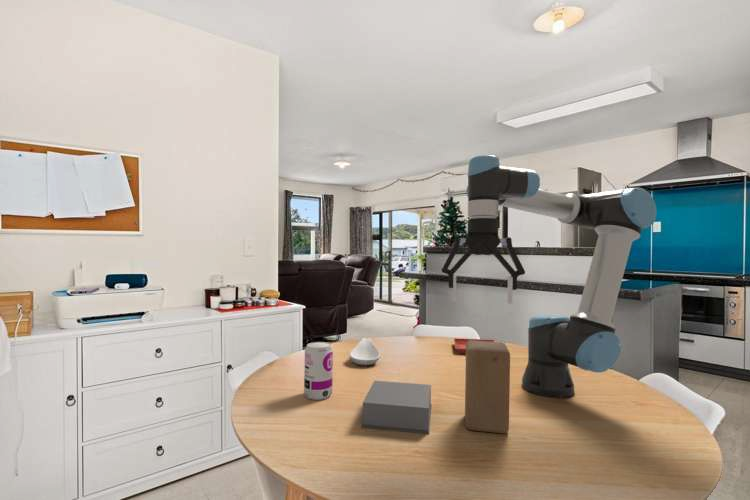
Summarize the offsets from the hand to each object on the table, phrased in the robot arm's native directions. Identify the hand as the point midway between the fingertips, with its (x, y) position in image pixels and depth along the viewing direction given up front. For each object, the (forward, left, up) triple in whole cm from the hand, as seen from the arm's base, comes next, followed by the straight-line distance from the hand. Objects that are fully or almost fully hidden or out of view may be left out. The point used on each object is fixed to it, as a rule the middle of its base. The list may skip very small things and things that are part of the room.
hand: (481, 302), depth 98 cm
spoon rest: (+40, -48, -31) cm, 70 cm away
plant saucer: (-4, -72, -31) cm, 79 cm away
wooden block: (-1, +1, -31) cm, 31 cm away
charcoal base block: (+21, +1, -31) cm, 37 cm away
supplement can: (+46, -8, -31) cm, 56 cm away
